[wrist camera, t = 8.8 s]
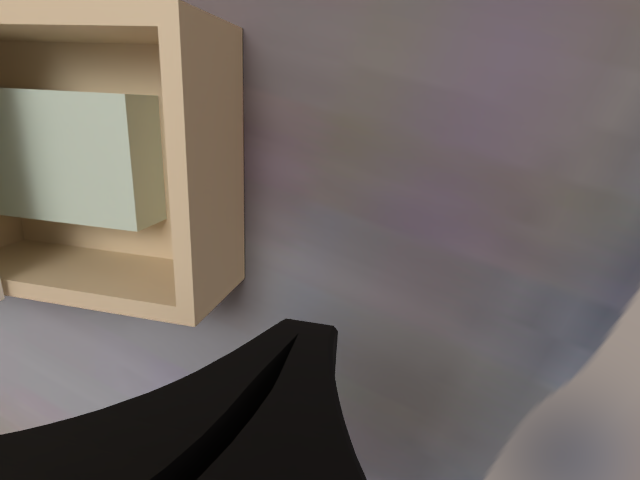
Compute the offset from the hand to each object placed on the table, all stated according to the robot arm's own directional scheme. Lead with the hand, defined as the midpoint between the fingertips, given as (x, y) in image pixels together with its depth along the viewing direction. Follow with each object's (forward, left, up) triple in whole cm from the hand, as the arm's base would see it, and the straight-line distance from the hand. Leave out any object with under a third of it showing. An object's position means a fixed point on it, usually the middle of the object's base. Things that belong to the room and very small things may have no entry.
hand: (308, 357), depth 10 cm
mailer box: (+3, +13, -10) cm, 17 cm away
